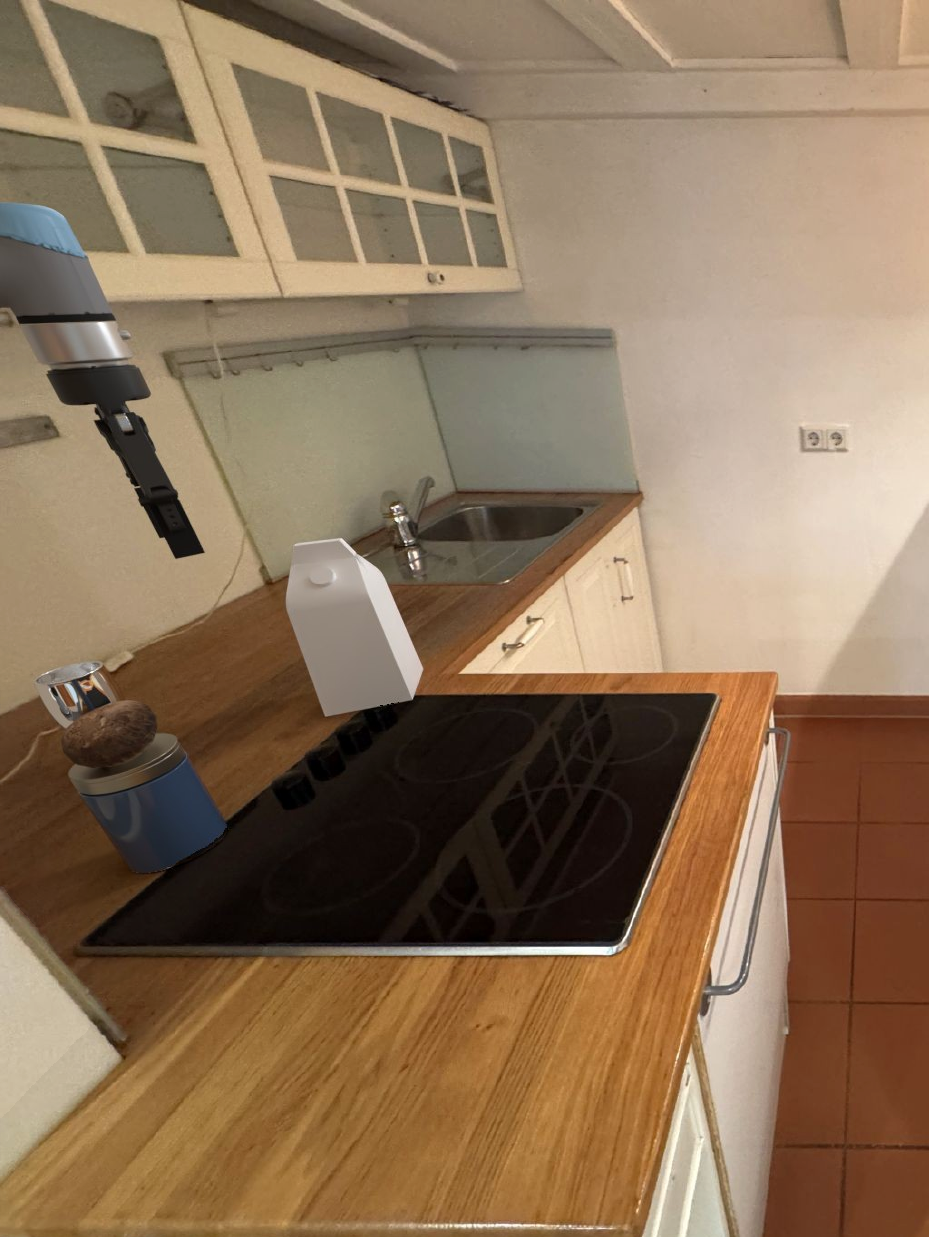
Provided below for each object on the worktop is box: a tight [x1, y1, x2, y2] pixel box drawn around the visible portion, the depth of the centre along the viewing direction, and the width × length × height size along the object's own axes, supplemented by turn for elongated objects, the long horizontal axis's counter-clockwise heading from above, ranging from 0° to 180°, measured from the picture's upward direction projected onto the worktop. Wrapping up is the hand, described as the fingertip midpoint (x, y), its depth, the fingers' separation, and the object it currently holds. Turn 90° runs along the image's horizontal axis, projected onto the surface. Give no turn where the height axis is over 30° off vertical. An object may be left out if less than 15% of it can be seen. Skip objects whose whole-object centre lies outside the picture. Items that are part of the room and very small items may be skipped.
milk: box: [285, 537, 424, 718], centre depth 110 cm, size 12×12×26 cm
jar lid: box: [67, 732, 186, 795], centre depth 78 cm, size 9×9×2 cm
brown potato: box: [60, 699, 158, 768], centre depth 76 cm, size 8×8×6 cm
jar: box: [77, 750, 228, 874], centre depth 80 cm, size 9×9×13 cm
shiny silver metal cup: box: [32, 660, 127, 731], centre depth 95 cm, size 7×7×15 cm
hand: (181, 545), depth 88 cm, fingers open, 13 cm apart
